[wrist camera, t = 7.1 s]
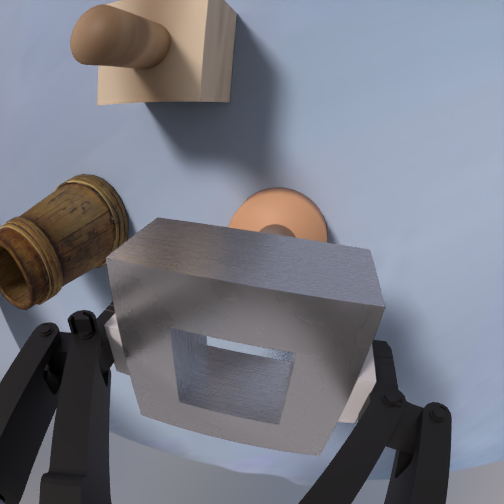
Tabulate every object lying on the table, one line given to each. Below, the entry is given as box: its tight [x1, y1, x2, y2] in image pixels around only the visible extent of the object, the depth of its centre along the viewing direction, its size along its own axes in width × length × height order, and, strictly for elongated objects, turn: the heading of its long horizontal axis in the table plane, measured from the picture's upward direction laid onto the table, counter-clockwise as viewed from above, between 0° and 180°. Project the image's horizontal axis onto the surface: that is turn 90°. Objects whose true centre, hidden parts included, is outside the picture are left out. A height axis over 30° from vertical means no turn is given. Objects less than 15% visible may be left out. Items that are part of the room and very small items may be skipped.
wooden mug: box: [0, 174, 128, 310], centre depth 20 cm, size 9×14×18 cm, turn 81°
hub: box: [229, 188, 327, 242], centre depth 21 cm, size 7×7×8 cm
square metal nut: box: [106, 218, 385, 456], centre depth 13 cm, size 9×9×4 cm
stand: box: [70, 0, 237, 105], centre depth 15 cm, size 7×7×11 cm
